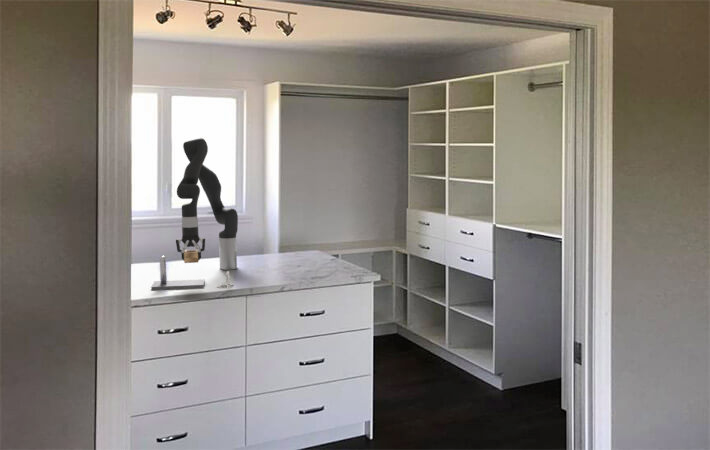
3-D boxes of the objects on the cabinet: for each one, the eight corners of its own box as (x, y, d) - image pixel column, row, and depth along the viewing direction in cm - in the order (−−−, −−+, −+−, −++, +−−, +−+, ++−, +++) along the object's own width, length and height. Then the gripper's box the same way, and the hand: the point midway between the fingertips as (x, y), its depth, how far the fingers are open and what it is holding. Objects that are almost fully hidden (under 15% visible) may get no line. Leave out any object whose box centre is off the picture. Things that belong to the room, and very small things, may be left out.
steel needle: (167, 282, 306) (165, 255, 305) (166, 284, 304) (165, 256, 302) (161, 283, 306) (159, 255, 304) (160, 284, 303) (159, 256, 301)
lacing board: (205, 282, 314) (204, 279, 314) (203, 287, 303) (203, 284, 302) (154, 284, 310) (154, 281, 310) (151, 290, 298) (151, 286, 298)
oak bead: (198, 259, 309) (198, 249, 309) (198, 262, 303) (197, 252, 302) (185, 260, 308) (184, 250, 308) (184, 263, 302) (183, 252, 301)
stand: (216, 286, 306) (232, 285, 309) (217, 288, 302) (234, 287, 304) (215, 270, 305) (232, 269, 308) (216, 272, 301) (233, 271, 303)
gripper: (205, 224, 308) (207, 257, 311) (175, 225, 305) (176, 259, 308) (205, 226, 301) (206, 260, 303) (173, 227, 298) (175, 262, 301)
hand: (191, 259), depth 306 cm, fingers closed on oak bead, 6 cm apart
